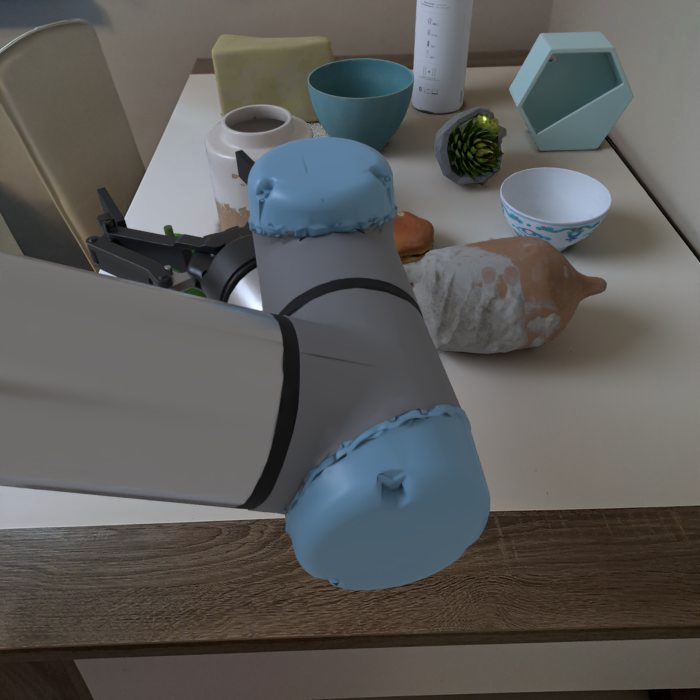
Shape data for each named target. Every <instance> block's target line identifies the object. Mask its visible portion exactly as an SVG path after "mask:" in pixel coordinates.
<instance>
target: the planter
mask: <svg viewBox="0 0 700 700" xmlns="http://www.w3.org/2000/svg"><path fill="white" fill-rule="evenodd" d="M617 52H618V51H617V49H616V48H615V46H614V45H613V44H612V42H611V41H610V40H609V39H608V38H607V37H606V35H605V34H604V33H603V32H602V31H598V30H597V31H568V32H564V31H563V32H541V33H539V35H538V36H537V38H536V40H535V42H534V44H533V45H532V47H531V49H530V50H529V52H528V54H527V56H526V57H525V60H524V62H523V63H522V65H521V67H520V69H518V72H517V74H516V76H515V77H514V79H513V81H512V83H511V85H510V86H509V88H508V91H509V93H510V95H511V97H512V100H513V102H514V104H515V107H516V109H517V111H518V112H519V114H520V116H521V118H522V120H523V122H524V125H526V127H527V129H528V132H529V133H530V135H531V137H532V139H533V141H534V142H535V145H536V146H537V148H538V150H539V151H540V152H547V151H548V152H549V151H550V152H551V151H586V150H589V151H590V150H597V149H599V148H600V146H601V145H602V143H603V142H604V141H605V138H607V136H608V134H609V133H610V132H611V130H612V129H613V127H614V126H615V125H616V124H617V122H618V121H619V120H620V118H621V117H622V115H623V114H624V112H625V111H626V109H627V108H628V106H629V105H630V103H631V102H632V100H633V99H634V98H635V96H634V93H633V90H632V87H631V85H630V82H629V80H628V78H627V75H626V73H625V70H624V67H623V65H622V62H621V60H620V58H619V55H618V53H617ZM552 56H555V59H554V60H552V61H550V59H551V57H552Z"/></svg>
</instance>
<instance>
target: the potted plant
mask: <svg viewBox="0 0 700 700" xmlns="http://www.w3.org/2000/svg"><path fill="white" fill-rule="evenodd" d="M499 124H500V123H499V119H498V118H496V117H495V114H494V112H493V111H491V109H489V107H483V106H475V107H472V108H469V109H467V110H463V111H460V112H459V113H457V114H455V115H454V116H453V117H451V118H450V119H448V120H447V121H445V123H443V125H442V126H441V128H440V129H438V130H437V131H436V133H435V139H434V146H433V149H434V152H435V153H434V155H435V159H436V161H437V164H438V166H439V169H440V171H441V174H442V176H444V177H445V178H447V179H448V180H450V181H451V182H453V183H454V184H456V185H465V184H476V185H480V186H484V185H485V184H486V183H488V182H489V181H490V180H491V179H492V178H494V177H495V176H496V175H497V174H498V172H500V170H501V168H502V161H503V155H505V153H504V152H503V150H502V145H501V144H502V143H503V139H504V138H505V137H507V136H508V133H507V129H506V128H505V127H503V126H500V125H499Z"/></svg>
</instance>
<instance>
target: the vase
mask: <svg viewBox="0 0 700 700" xmlns="http://www.w3.org/2000/svg"><path fill="white" fill-rule="evenodd" d="M307 138H315V137H314V132H313V129H312V127H311V125H310V124H309V123H308V122H305V121H304V120H302V119H300V118H298V117H296V116H293V115H291V113H290V112H289V111H288V110H286V109H284V108H282V107H279V106H275V105H265V104H259V105H249V106H244V107H240V108H237V109H235V110H232V111H231V112H229V113H227V114H226V115H225V116H224V117H223V118H221V121H220V122H218V123H216V124H214V126H212V127H211V128H210V130H209V131H207V133H206V135H205V138H204V148H205V155H206V159H207V165H208V171H209V175H210V181H211V185H212V191H213V196H214V201H215V207H216V212H217V217H218V222H219V226H220V229H221V232H223V231H225V230H227V229H229V228H231V227H235V226H238V227H244V226H245V225H246V223H247V221H248V218H249V217H250V208H249V198H248V187H247V185H246V184H245V183H244V181H243V180H242V179H241V178H240V177H239V174H238V168H237V161H236V155H235V151H239V150H243V151H244V152H245V153H246V154H247V155H248V156H249V157H250V158H251V159H252V160H253V161H254V162H257V160H258V159H259V158H260V157H261V156H262V155H264V154H265V153H266V152H268V151H270V150H272V149H273V148H275V147H277V146H280V145H282V144H285V143H288V142H291V141H295V140H299V139H307Z"/></svg>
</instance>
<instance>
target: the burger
mask: <svg viewBox="0 0 700 700" xmlns="http://www.w3.org/2000/svg"><path fill="white" fill-rule="evenodd" d="M393 230H394V241H395V246H396V249H397V252H398V254H399V257H400V259H401V262H402V264H403V265H404V264H409V263H414V262H418V261H420V260H421V259H422V258H423V257H424V256H425V254H426V253H427V252H429V251H431V250H433V246H434V245H433V243H434V242H435V238H434V237H435V228H434V225H433V224H432V222H430V220H427V219H425V218H422V217H420V216H418V215H415V214H414V213H412V212H410V211H406V210H402V211H399V210H397V215H396V216H395V220H394V227H393Z"/></svg>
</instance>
